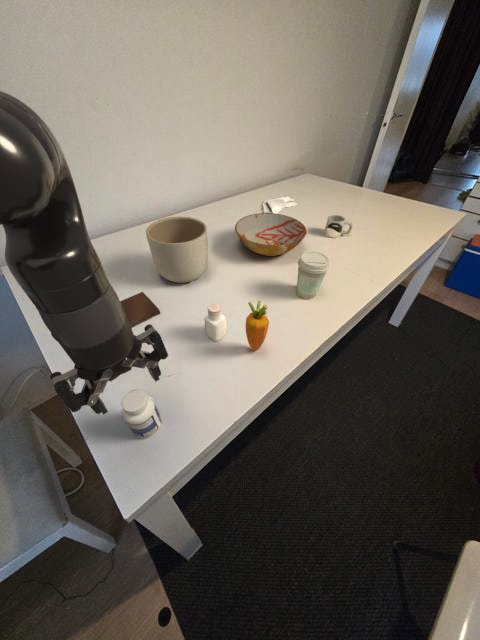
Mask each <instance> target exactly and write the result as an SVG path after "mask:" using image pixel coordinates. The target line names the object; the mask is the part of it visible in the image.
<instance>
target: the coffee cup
mask: <svg viewBox="0 0 480 640" xmlns="http://www.w3.org/2000/svg"><path fill="white" fill-rule="evenodd" d="M297 265H298V267H297V282H296V295H297V296H298V297H300V298H302V299H304V300H311V299H312V300H313V299H314V298H315V297H316V296H317V294H318V291H319V289H320V287H321V285H322V283H323V281H324V278H325V276H326V273H327V272H328V271H329V269H330V258H329V257H328V256H327V255H326V254H324V253H322V252H319V251H306V252H304V253H301V255H300V257H299V258H298V261H297Z"/></svg>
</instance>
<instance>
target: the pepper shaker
mask: <svg viewBox="0 0 480 640" xmlns="http://www.w3.org/2000/svg"><path fill="white" fill-rule="evenodd" d="M203 320H204V329H205V335H206V336H207V337H208V338H210V339H212V340H213V341H214V342H218V341H220V340H221V339H222V338H223V337H224V336H226V335H227V317H226V315H224V314H223V313H222V305H221V303H219V302H211V303H209V304H208V305H207V314H206V315H205V317H204V319H203Z"/></svg>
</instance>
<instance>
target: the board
mask: <svg viewBox="0 0 480 640" xmlns="http://www.w3.org/2000/svg"><path fill="white" fill-rule="evenodd" d="M120 302H121V304H122V305H123V307H124V312H125V315H126V317H127V320H128V322H129V324H130V327H131V329H132V328H134V327H136V326H138V325H140V324H142V323H144V322H146V321H148V320H150V319H152V318H154V317H156V316H158V315H160V314H161V311H160V308H158V306H157V305H156V304H155V303H154V302H153V301H152V300H151V299H150V298H149V297H148V296H147V294H146V293H144V291H141V292H139V293H136V294H133V295H132V296H129V297H127V298H124V299H122V300H120Z"/></svg>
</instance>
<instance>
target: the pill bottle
mask: <svg viewBox="0 0 480 640" xmlns="http://www.w3.org/2000/svg"><path fill="white" fill-rule="evenodd" d="M121 407H122V409H121V416H122V418H123V419H124V421H125V423H126V424H127V426H128V427H129V429H130V430H131V432H133V434H134V435H135V436H136V437H137V438H138V439H149V438H151V437H153V436H155V435H156V434H157V433H158V432H159V430H160V429H161V426H162V416H161V414H160V412H159V409H158V407H157V405H156V403H155V400H154V399H153V397H151V395H149V394H147V393H146V392H145V391H143V390H142V389H132V390H129V391H128V392H127V393H126V394H125V395H124V396H123V397H122V399H121Z"/></svg>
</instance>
